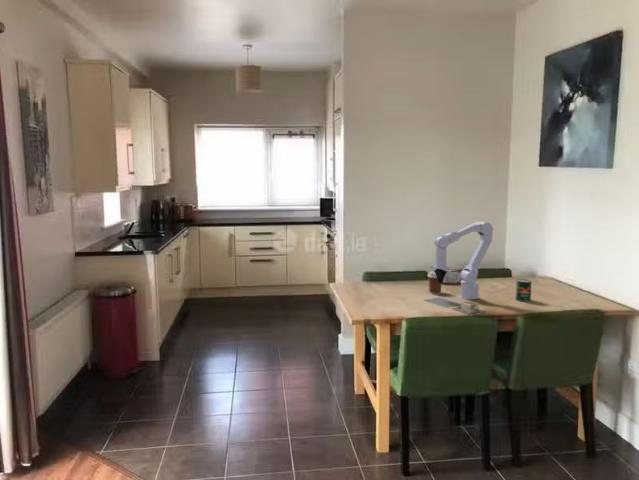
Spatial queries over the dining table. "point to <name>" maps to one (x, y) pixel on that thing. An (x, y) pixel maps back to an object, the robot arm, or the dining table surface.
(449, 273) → the tin
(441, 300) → the slide mat
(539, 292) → the dining table surface
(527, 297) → the canned tomato
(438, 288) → the coffee cup
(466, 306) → the ash block
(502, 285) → the dining table surface
